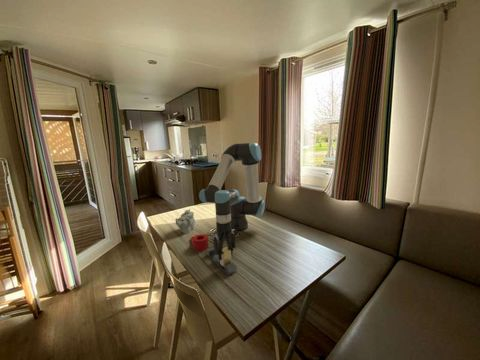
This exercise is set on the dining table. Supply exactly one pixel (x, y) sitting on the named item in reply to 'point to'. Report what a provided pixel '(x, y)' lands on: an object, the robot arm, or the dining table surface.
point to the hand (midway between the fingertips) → (225, 262)
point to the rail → (227, 269)
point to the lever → (200, 242)
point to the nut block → (226, 255)
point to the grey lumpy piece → (186, 222)
